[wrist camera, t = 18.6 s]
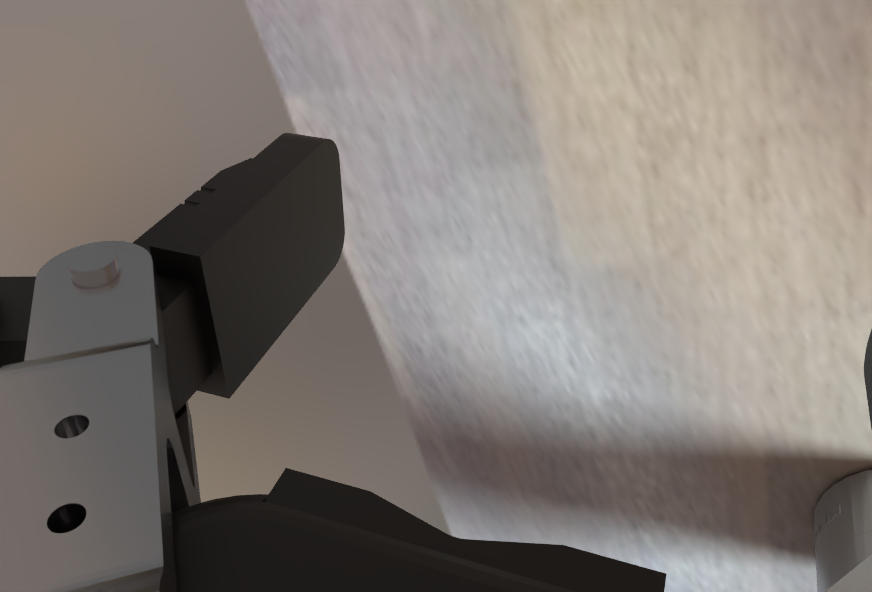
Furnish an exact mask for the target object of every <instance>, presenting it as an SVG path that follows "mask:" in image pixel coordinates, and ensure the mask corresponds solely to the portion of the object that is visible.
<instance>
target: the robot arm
mask: <svg viewBox="0 0 872 592" xmlns="http://www.w3.org/2000/svg"><path fill="white" fill-rule="evenodd" d="M344 234H345V228H344V214H343V201H342V188H341V174H340V161H339V153H338V149H337V146H336V144H335V143H334V142H333V141H332V140H330V139H324V138H317V137H311V136H305V135H298V134H292V133H284V134H282V135H281V136H279V137H278V138H277V139H276V140H275V141H273V142H272V143H271V144H270V145H269V146H268V147H266V148H265V149H264V150H263V151H262V152H260V153H259V154H258V155H257V156H256V157H254V158H253V159H252V158H250V159H248V160H245V161H243V162H241V163H238V164H236V165H233V166H231V167H229V168H226V169H224V170H222V171H220V172H219V173H218V174H217V175H215V176H214V177H213V178H212V179H210V180H209V181H208V182H207V183H205V184H204V185H203V186H202V187H201V191H198V190H197V191H196V192H194V193H193V194H192V195H191V196H190V197H188V198H187V199H186V200H185V204H180V205H178V206H177V207H176V208H175V209H174V210H172V211H171V212H170V213H169V214H167V216H165V217H164V218H163V219H161V220H160V221H159V222H158V223H156V224H155V225H154V226H153V227H152V228H150V229H149V230H148V231H147V232H145V233H144V234H143V235H142V236H140V237H139V238H138V239H137V240H136V241H134V242H133V243H129V242H124V241H102V242H95V243H89V244H85V245H81V246H78V247H75V248H72V249H69V250H67V251H65V252H63V253H61V254H59V255H57V256H55V257H54V258H52V259H51V260H49V261H48V262H47V263H46V264H45V265H44V266H43V267H42V268H41V269H40V270H39V272H38V274H37V276H36V277H0V592H664V588H665V580H666V574H665V573H661V572H658V571H654V570H650V569H647V568H643V567H640V566H636V565H633V564H629V563H625V562H622V561H618V560H615V559H611V558H607V557H604V556H600V555H597V554H593V553H589V552H586V551H582V550H579V549H575V548H571V547H568V546H564V545H551V544H534V543H517V542H501V541H484V540H467V539H459V538H456V537H452V536H450V535H448V534H446V533H444V532H442V531H440V530H439V529H437V528H435V527H433V526H431V525H429V524H428V523H426V522H424V521H423V520H420V519H419V518H417V517H415V516H414V515H412V514H410V513H408V512H406V511H404V510H403V509H401V508H399V507H397V506H396V505H394V504H392V503H390V502H388V501H386V500H385V499H383V498H381V497H379V496H378V495H376V494H374V493H372V492H370V491H366V490H363V489H360V488H356V487H352V486H349V485H345V484H342V483H338V482H334V481H330V480H327V479H324V478H320V477H316V476H313V475H309V474H306V473H302V472H298V471H295V470H291V469H288V468H286V469H285V471H284V472H283V473H282V475H281V477H280V478H279V480H278V481H277V483H276V484H275V486H274V487H273V489H272V490H271V492H270V493H269V495H263V494H258V495H240V496H232V497H226V498H220V499H214V500H210V501H206V502H202V503H201V499H200V492H199V482H198V473H197V465H196V455H195V447H194V438H193V429H192V420H191V415H190V410H189V407H188V402H187V401H188V400H189V398H190V397H191V396H192V395H193V394H194V393H195V392H196V391H197V390H198V391H202V392H206V393H210V394H214V395H218V396H221V397H225V398H230V397H231V395H232V394H233V393H234V392H235V391H236V389H237V388H238V387H239V386H240V384H241V383H242V382H243V381H244V380H245V378H246V377H247V376H248V375H249V373H250V372H251V371H252V370H253V368H254V367H255V366H256V364H257V363H258V362H259V361H260V360H261V358H262V357H263V356H264V355H265V353H266V352H267V351H268V350H269V348H270V347H271V346H272V345H273V343H274V342H275V341H276V340H277V338H278V337H279V336H280V335H281V333H282V332H283V331H284V330H285V328H286V327H287V326H288V325H289V323H290V322H291V321H292V320H293V318H294V317H295V316H296V315H297V313H298V312H299V311H300V310H301V308H302V307H303V306H304V305H305V304H306V302H307V301H308V300H309V299H310V297H311V296H312V295H313V294H314V292H315V291H316V290H317V288H318V287H319V286H320V285H321V284H322V282H323V281H324V280H325V279H326V277H327V276H328V275H329V274H330V272H331V271H332V270H333V269H334V267H335V266H336V264H337V262H338V260H339V258H340V255H341V252H342V248H343V243H344ZM864 377H865V385H866V392H867V399H868V406H869V414H870V421H871V428H872V330H871V333H870V336H869V340H868V343H867V348H866V353H865V361H864ZM813 517H814V536H815V538H814V552H815V558H816V570H817V589H818V592H872V470H866V471H863V472H860V473H857V474H855V475H852V476H849V477H847V478H845V479H843V480H841V481H840V482H838V483H836V484H834V485H833V486H832V487H831V488H830V489H828V490H827V491H826V492H825V493H824V494H823V495H822V497H821V498H820V500H819V501H818V503H817V504H816V508H815V512H814V516H813Z"/></svg>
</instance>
